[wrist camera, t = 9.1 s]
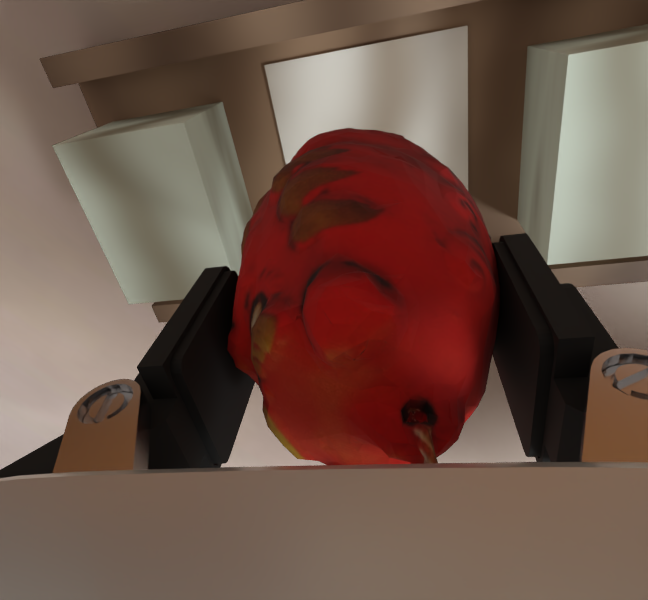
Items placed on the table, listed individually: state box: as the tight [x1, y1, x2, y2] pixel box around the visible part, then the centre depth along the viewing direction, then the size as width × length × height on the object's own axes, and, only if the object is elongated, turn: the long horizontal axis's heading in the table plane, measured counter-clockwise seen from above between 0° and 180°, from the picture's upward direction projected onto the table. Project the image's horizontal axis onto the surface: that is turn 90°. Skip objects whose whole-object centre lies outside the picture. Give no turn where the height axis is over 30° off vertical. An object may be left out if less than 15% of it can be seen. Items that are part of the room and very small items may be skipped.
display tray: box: [40, 0, 648, 322], centre depth 21 cm, size 28×14×6 cm, turn 100°
